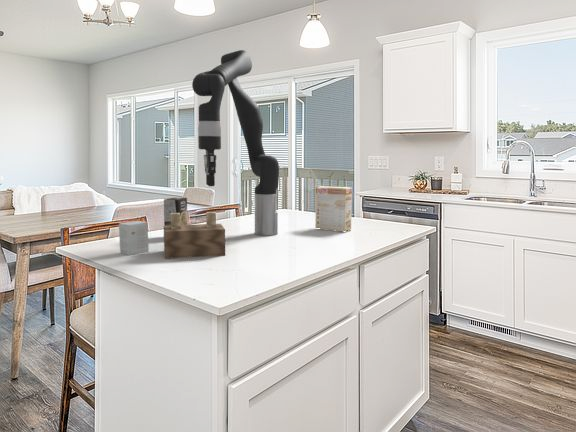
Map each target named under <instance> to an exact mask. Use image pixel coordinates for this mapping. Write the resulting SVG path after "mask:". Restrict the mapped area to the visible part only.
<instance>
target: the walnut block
mask: <svg viewBox="0 0 576 432" xmlns="http://www.w3.org/2000/svg"><path fill="white" fill-rule="evenodd" d="M163 251H164V254H163V255H164V256H163V257H164V259H177V258H179V259H180V258H197V257H198V258H201V257H218V256H226V229H225V227H224V226H223V225H222V223H216V227H215V228H206V223H205V224H204V223H202V224H201V223H200V224H188V225H180V229H171V225H169V226H164V225H163Z"/></svg>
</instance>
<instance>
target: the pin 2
mask: <svg viewBox="0 0 576 432" xmlns="http://www.w3.org/2000/svg"><path fill="white" fill-rule="evenodd" d="M205 215H206V218H205V222H206V223H205V224H206V228H215V227H216V224H217V213H216V211H206V213H205Z"/></svg>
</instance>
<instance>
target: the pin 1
mask: <svg viewBox="0 0 576 432" xmlns="http://www.w3.org/2000/svg"><path fill="white" fill-rule="evenodd" d="M171 229H180V213H171Z"/></svg>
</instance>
